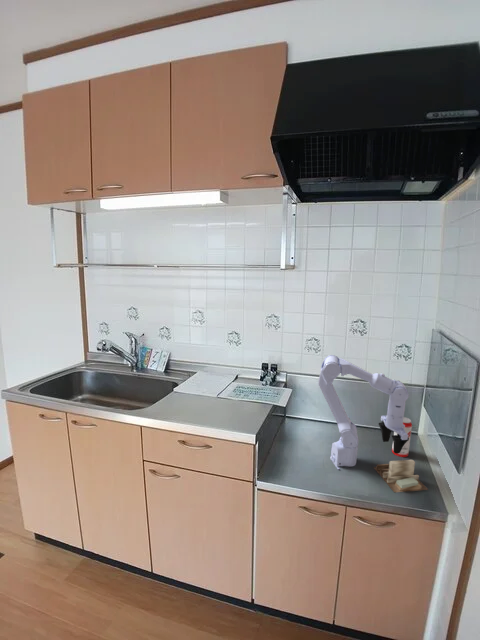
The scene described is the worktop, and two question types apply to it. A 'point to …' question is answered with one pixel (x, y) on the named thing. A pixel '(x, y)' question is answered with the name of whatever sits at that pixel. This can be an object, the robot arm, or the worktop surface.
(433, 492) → the worktop surface
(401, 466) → the tan wooden block
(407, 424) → the beer can
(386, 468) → the rack
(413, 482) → the offcut top
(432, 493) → the worktop surface
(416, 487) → the block
